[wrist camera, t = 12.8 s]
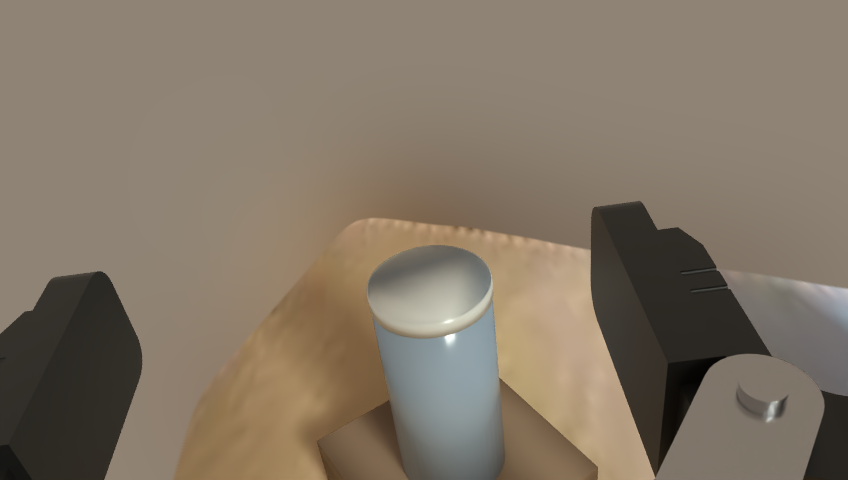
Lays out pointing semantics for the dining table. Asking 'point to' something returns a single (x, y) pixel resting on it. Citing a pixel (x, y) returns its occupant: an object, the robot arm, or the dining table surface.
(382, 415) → the block
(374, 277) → the tumbler
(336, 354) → the dining table surface
